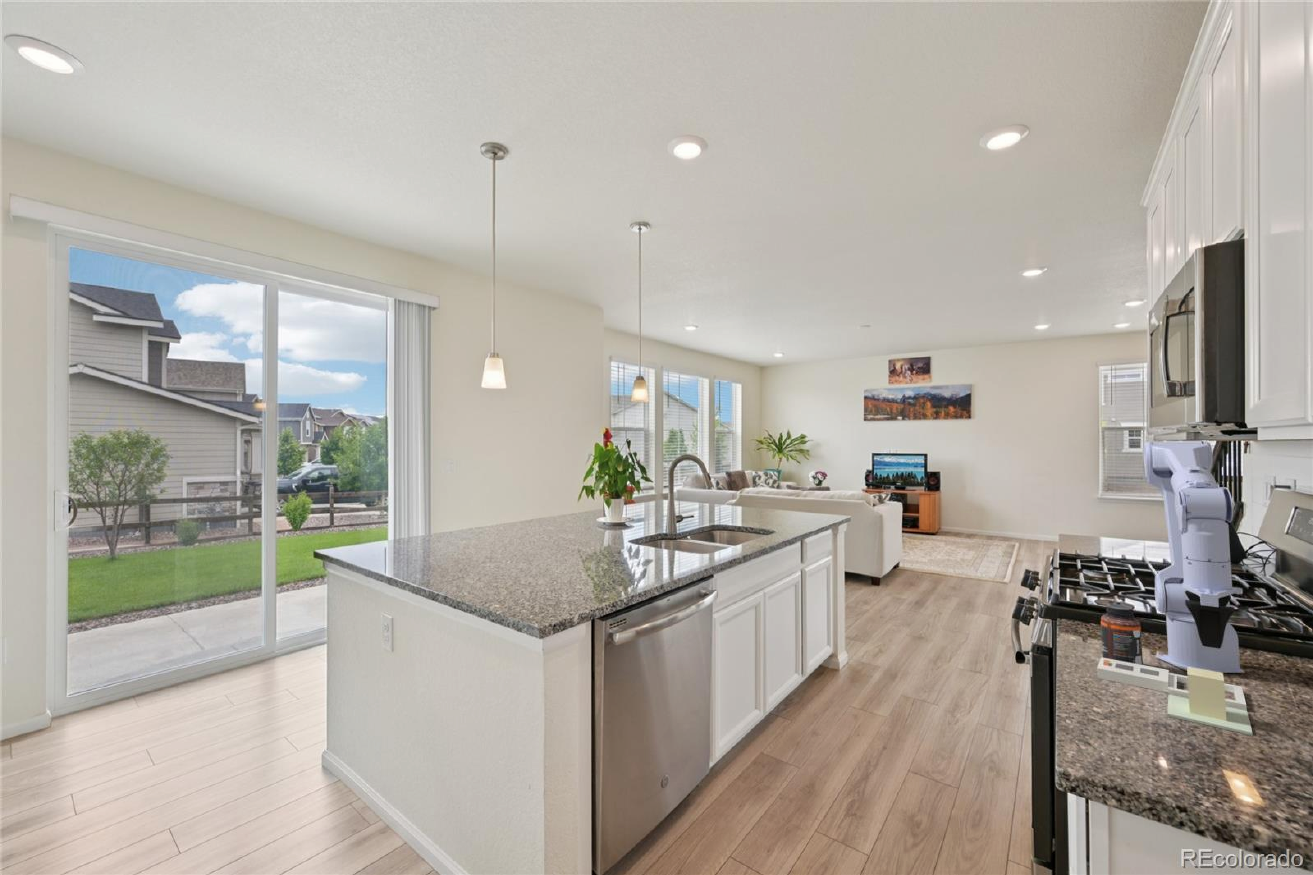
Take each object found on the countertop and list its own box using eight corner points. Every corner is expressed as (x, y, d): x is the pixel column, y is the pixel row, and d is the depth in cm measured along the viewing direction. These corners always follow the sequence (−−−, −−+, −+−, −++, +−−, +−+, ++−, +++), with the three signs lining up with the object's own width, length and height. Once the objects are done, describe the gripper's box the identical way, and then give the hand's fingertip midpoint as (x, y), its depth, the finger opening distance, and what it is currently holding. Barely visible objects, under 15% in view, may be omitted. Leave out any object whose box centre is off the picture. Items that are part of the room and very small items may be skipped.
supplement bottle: (1151, 672, 101) (1148, 611, 102) (1114, 670, 103) (1111, 610, 103) (1130, 660, 107) (1127, 602, 108) (1095, 658, 108) (1093, 601, 109)
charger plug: (1224, 711, 85) (1222, 672, 85) (1226, 721, 82) (1224, 680, 82) (1189, 704, 88) (1187, 666, 88) (1189, 712, 85) (1187, 674, 85)
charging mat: (1168, 696, 91) (1168, 694, 91) (1247, 713, 85) (1247, 711, 85) (1167, 715, 85) (1167, 713, 85) (1252, 735, 79) (1252, 732, 79)
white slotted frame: (1242, 692, 92) (1241, 679, 92) (1246, 711, 86) (1245, 697, 86) (1102, 665, 105) (1101, 653, 105) (1096, 679, 99) (1096, 667, 99)
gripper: (1244, 569, 83) (1249, 658, 83) (1237, 555, 94) (1242, 634, 93) (1180, 563, 88) (1185, 648, 88) (1180, 551, 99) (1184, 626, 98)
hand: (1210, 640), depth 91 cm, fingers open, 7 cm apart
